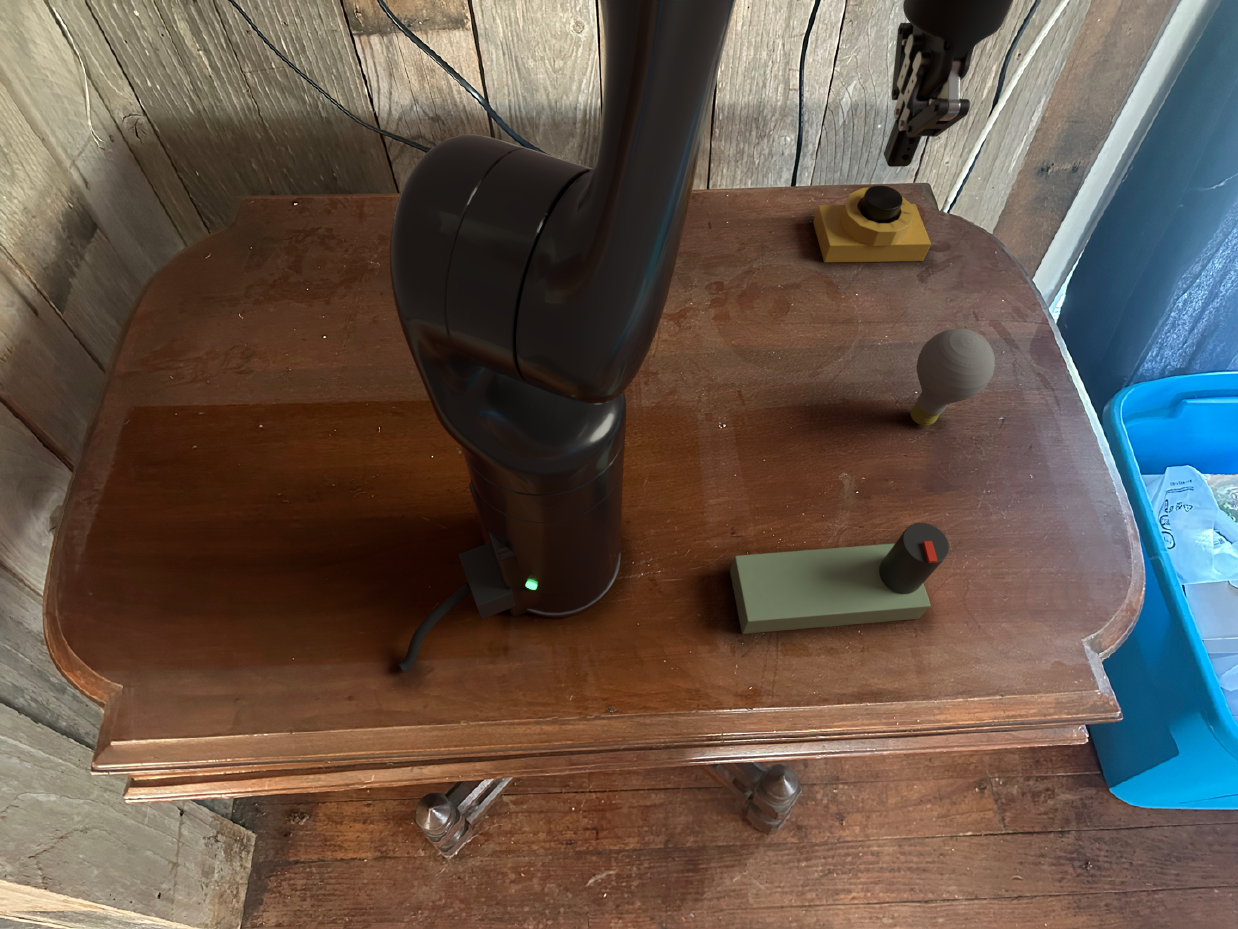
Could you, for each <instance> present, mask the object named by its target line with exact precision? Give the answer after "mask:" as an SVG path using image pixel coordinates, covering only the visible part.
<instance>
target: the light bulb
mask: <svg viewBox="0 0 1238 929" xmlns="http://www.w3.org/2000/svg"><path fill="white" fill-rule="evenodd" d="M995 365H996V360H995V353H994V350H993V348H992V347H991V345H990V343H989V342H988V340H987V339H986V338H985V337H983V335H981V334H980V333H978V332H975V331H973V330H970V329H966V328H951V329H946V330H943V331H941V332H939V333H937V334H935V335H934V336H932V337H931V338H930V339H928V340H927V342H925V344H924V345H923V347H922V349H921V350H920V352H919V354H918V357H917V362H916V373H917V378H918V383H919V385H920V388H921V391H920V394H919V396H918V397H917V400H916V402H915V404H914V406H913V407H912V408H911V410H910V417H911V419H912V421H914V423H916V424H918V425H920V426H925V427H926V426H932V425H934V423H936V421H937V420H938V418H939V417H940V415H941V414H942V413H944V412H945V410H946V409H947V407H948V406H949V405H950V404H953V403H958V402H961V401H965V400H967V399H970V398H973V397H975V396H976V395H978V394H979V393H980V392H981V391H983V390H984V389H985V388H986V387H987V385H988V384H989V382H990V381H991V379H992V377H993V376H994V372H995V367H996V366H995Z"/></svg>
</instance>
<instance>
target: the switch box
mask: <svg viewBox="0 0 1238 929" xmlns="http://www.w3.org/2000/svg"><path fill="white" fill-rule="evenodd" d="M869 188H870V187H862V188H860V189H857V190H855V191H852V192H851V193H849V195H848V196H847V198H846V200H845V202H844V204H818V205H817V208H816V211H815V215H814V218H813V222H812V223H813V226H814V230H815V235H816V237H817V240H818V245H819V249H820V252H821V256H822V259H823V263H876V262H877V263H878V262H879V263H882V262H883V263H884V262H889V263H890V262H891V263H892V262H923V261H924V260H925V258H926V257H927V254H928V252H929V249H930V248H931V246H932V243H931V240H930V238H929V235H928V232H927V231H926V230H927V229H926V227H925V225H924V222H923V219H922V217H921V214H920V212H919V209H918V207H917V205H916V204H917V203H911V202H909V200H907V198H905V197H904V196H902V199H903V202H902V205H901V208H900V210H899V212H898V215H897V217H896V219H895V220H894V221H893V222H891V223H876V222H873V221H870V220H867V219H866V218H865V217H864V216H863V215H861V213H860V206H861V203H862V200H863V197H864V194H865V192H866V191H867V189H869Z"/></svg>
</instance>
